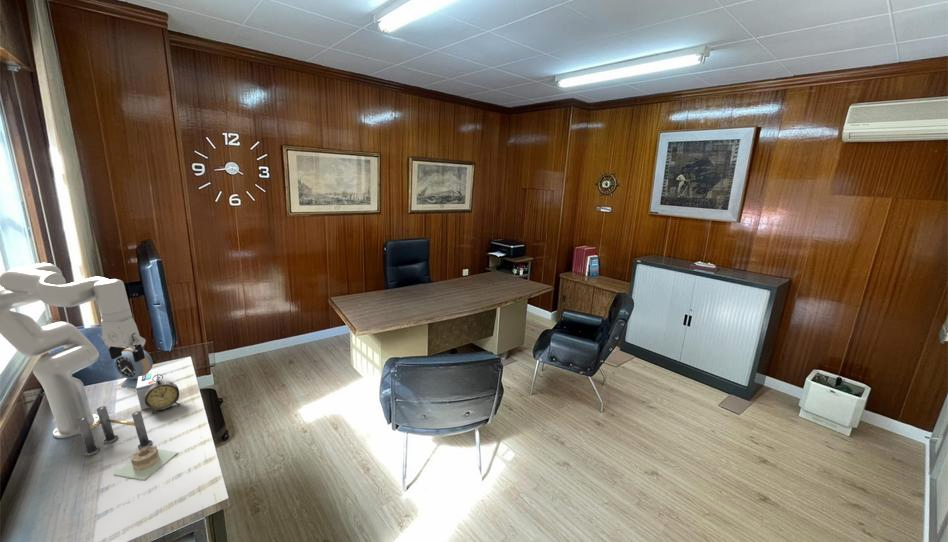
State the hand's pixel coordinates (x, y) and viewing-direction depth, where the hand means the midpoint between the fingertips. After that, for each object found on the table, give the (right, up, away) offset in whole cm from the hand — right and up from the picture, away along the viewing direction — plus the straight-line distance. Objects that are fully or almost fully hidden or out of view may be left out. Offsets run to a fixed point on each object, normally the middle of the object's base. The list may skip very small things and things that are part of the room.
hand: (128, 358), depth 131 cm
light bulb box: (-16, -25, +28) cm, 41 cm away
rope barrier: (-5, -33, +1) cm, 33 cm away
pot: (+11, -35, -5) cm, 37 cm away
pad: (+11, -35, -5) cm, 37 cm away
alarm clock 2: (-7, -27, +24) cm, 36 cm away
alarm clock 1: (-34, -21, +41) cm, 57 cm away
